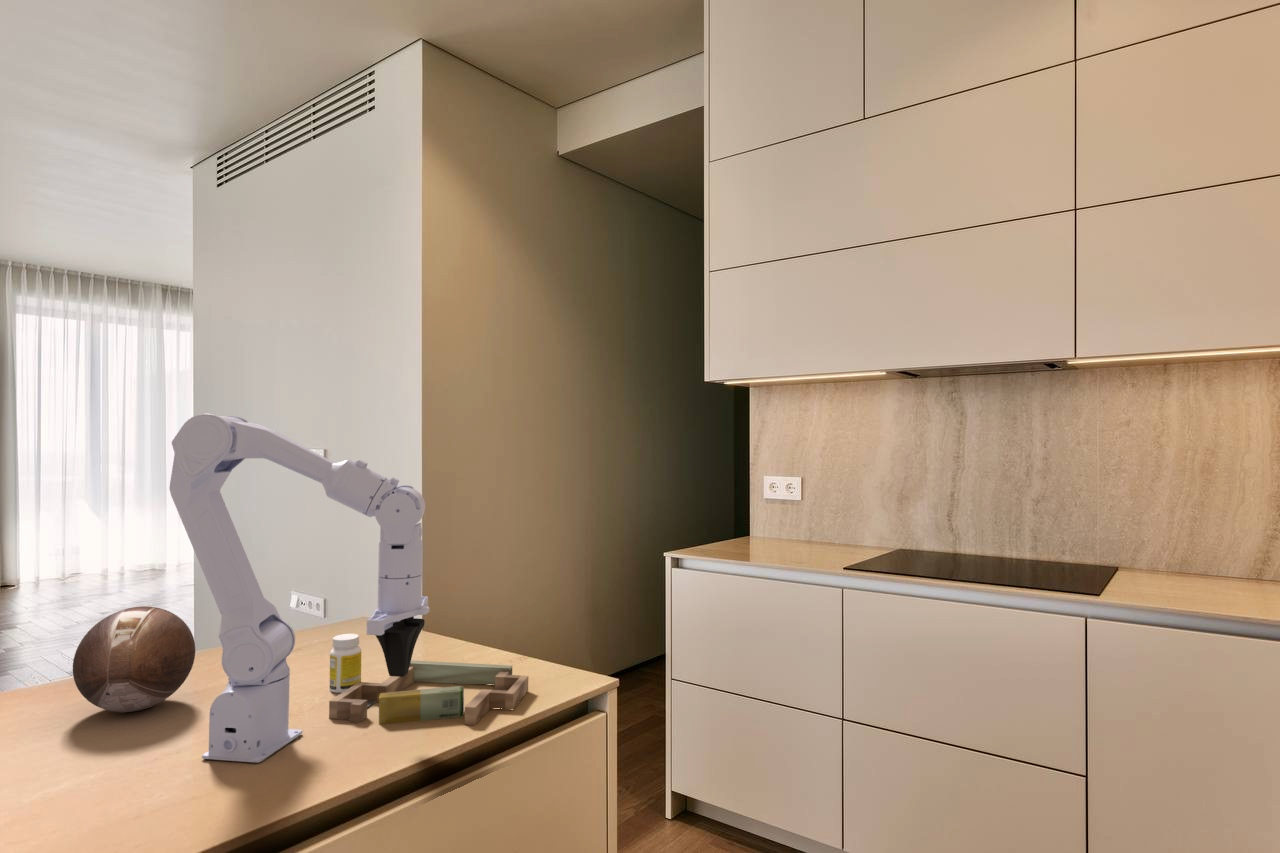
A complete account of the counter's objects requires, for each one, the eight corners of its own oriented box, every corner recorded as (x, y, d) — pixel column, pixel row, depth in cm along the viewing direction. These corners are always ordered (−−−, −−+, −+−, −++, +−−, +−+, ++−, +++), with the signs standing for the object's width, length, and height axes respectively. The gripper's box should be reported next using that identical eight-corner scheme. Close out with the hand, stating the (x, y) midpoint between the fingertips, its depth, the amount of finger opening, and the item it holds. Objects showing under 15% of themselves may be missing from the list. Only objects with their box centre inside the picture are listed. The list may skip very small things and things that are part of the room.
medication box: (463, 711, 109) (464, 684, 109) (464, 717, 106) (464, 690, 106) (378, 719, 105) (379, 691, 106) (377, 726, 103) (378, 697, 103)
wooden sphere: (65, 737, 97) (69, 625, 98) (76, 703, 110) (79, 603, 110) (196, 714, 106) (198, 611, 106) (192, 685, 118) (194, 593, 119)
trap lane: (496, 730, 101) (496, 709, 101) (325, 720, 104) (326, 699, 104) (533, 684, 120) (533, 666, 121) (388, 676, 124) (389, 659, 124)
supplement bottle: (366, 684, 120) (367, 633, 120) (352, 694, 115) (353, 641, 115) (338, 683, 120) (339, 632, 120) (323, 692, 115) (324, 639, 116)
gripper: (404, 586, 91) (402, 694, 91) (448, 567, 106) (446, 660, 106) (352, 584, 92) (349, 691, 92) (402, 565, 107) (400, 658, 106)
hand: (398, 674), depth 99 cm, fingers closed
